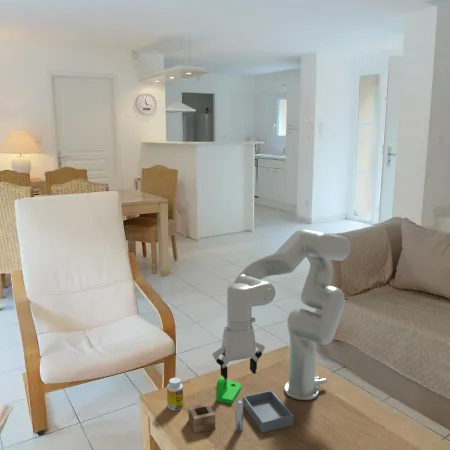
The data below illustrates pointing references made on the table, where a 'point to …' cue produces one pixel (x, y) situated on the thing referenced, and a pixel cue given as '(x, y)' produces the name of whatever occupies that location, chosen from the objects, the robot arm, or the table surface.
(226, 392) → the mechanical part
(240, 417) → the pin gauge
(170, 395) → the supplement bottle
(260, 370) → the table surface
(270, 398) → the tray
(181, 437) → the table surface
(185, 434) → the table surface
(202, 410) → the bore block
